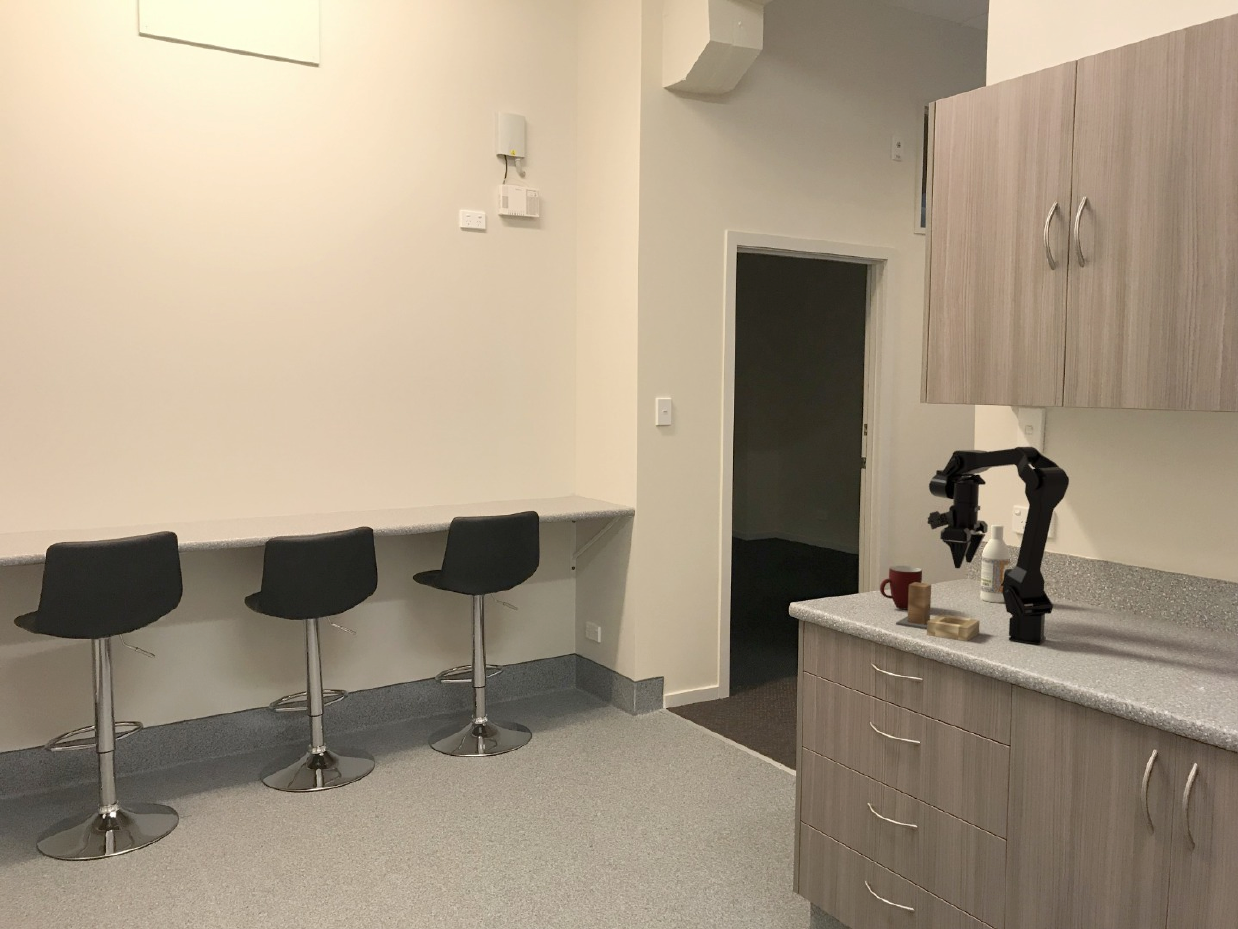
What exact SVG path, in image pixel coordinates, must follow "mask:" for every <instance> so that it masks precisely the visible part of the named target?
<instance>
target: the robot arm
mask: <svg viewBox="0 0 1238 929" xmlns="http://www.w3.org/2000/svg"><path fill="white" fill-rule="evenodd" d="M1006 466H1007V467H1008V466H1015V467H1016V469H1017V475H1018V477H1019V478H1020V479H1021V481H1022V482H1023V483H1024V484H1025V487H1024V494H1025V497H1026V499H1027V501H1028V510H1027V515H1026V518H1025V519H1026V520H1025V523H1024V524H1025V525H1024V528H1023V534H1022V537H1021V538H1022V539H1021V541H1020V542H1021V543H1020V547H1019V548H1020V549H1019V553H1018V557H1017V561H1016V564H1015V565H1014V567H1013V568H1010V569H1006V570H1005V572H1004V580H1003V583H1002V584H1001V586H1003V589H1002V594H1003V597H1004V602H1003V603H1004V604H1005V611H1006V613H1008V614H1010V615H1011V617H1010V618H1009V624H1008V636H1009V637H1008V640H1009V641H1012V642H1013V641H1014V642H1020V643H1024V644H1025V643H1027V644H1032V645H1040V644H1042V643H1043V642H1044V641H1046V639H1047V637H1046V636H1045V622H1046V621H1045V618H1046V614H1047V615H1048V614H1052V612H1053V608H1054V604H1053V602H1052V601H1051V600H1050V598H1049V596H1048V595H1047V593H1046V591H1045V579H1044V576H1043V573H1042V570H1041V567H1042V562H1043V558H1044V554H1045V549H1046V546H1047V545H1046V544H1047V540H1048V537H1049V536H1048V535H1049V533H1050V531H1049V530H1050V526H1051V522H1052V518H1053V514H1054V510H1055V508H1056V507H1057V506H1058V505H1059V504H1060V503H1061V502H1062V501H1063V499H1064V498H1065V495H1066V493H1067V490H1068V488H1069V484H1070V477H1069V476H1068V474H1067V472H1066V471H1065V470H1064V469H1063V468H1061V467H1060V466H1059V465H1058V464H1057V463H1056V462H1055V461H1053V460H1051V459H1050V458H1048V457H1046V456H1045V455H1043V454H1042V453H1041V452H1040V451H1039V450H1038V449H1037V448H1036V447H1033V446H1017V447H1014V448H1007V449H999V450H990V451H987V450H980V449H964V450H963V449H962V450H954V451H953V452H952V455H951V457H950V458H949V460H948V462H947V463H946V466H945V467H944V469H937V470H936V474H935V475H934V476H932V477H931V479H930V482H929V484H928V488H929V492H930V493H931V495H932V496H933V497H938V498H943V499H949V500H953V502H952V505H951V506H950V507H949V510H948V511H946V512H942V513H940V512H939V511H938V510H935V511H933V512H930V513H929V517H927V525H930V529H931V530H935V529H936V530H937V528H941V527H944V526H945V527H944V528H943V529H942V530H941V531H940V535H939V536H940V537H939V538H940V540H942V542H943V543H944V544H946V545H947V546H948V547H949V549H950V553H951V557H952V560H953V565H954V568H955V569H960V568H961V567H962V565H963V562H964V560H965V562H966V563H972V562H973V560H974V557H975V556H976V553H977V551H978V550H979V547H980V546H981V544H982V542H983V540H984V538H985V536H986V534H987V533H988V530H989V528H988V523H987V522H986V521H985V520H978V518H979V517H978V516H979V511H981V505H979V497H980V496H979V493H980V486H982V485H983V486H985V485H986V481H985V479H983V478H982V476H981V475H980V474H981V473H984V472H986V471H988V470H989V469H991V468H996V467H1006ZM980 532H981V533H980Z"/></svg>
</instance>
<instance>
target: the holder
mask: <svg viewBox="0 0 1238 929" xmlns="http://www.w3.org/2000/svg"><path fill="white" fill-rule="evenodd" d="M930 619H931V618H930ZM979 633H980V619H974V618H969V617H968V618H967V617H961V616H955V615H948V614H939V615H937V616H935V617H934V618H932V619H931V620H930V621H928V622H927V629H926V635H927V636H931V637H932V636H934V637H938V638H943V639H944V638H946V639H952V640H957V641H962V642H968V641H970V640H971V639H972V638H974V637H975V636H976V635H978V634H979Z"/></svg>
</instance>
